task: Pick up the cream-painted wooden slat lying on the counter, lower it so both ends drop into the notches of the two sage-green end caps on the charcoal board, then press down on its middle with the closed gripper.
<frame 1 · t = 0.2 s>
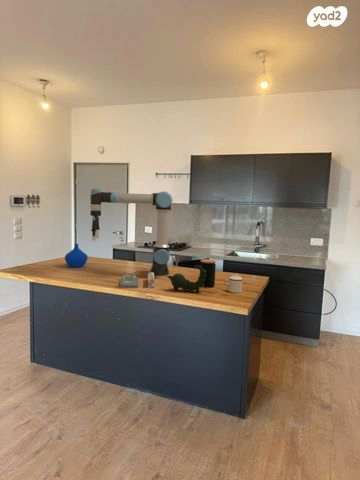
hand: (95, 239, 243), 28 cm above the countertop, tool pointing down, fingers open, 13 cm apart
base board: (129, 283, 229), on the countertop
coffee jar: (206, 286, 232), on the countertop
slat: (150, 284, 231), on the countertop
toy figurine: (185, 291, 216), on the countertop
front end cap: (128, 286, 221), resting on base board
back end cap: (129, 280, 238), resting on base board
teacup with lid: (232, 291, 221), on the countertop
vase: (76, 266, 280), on the countertop
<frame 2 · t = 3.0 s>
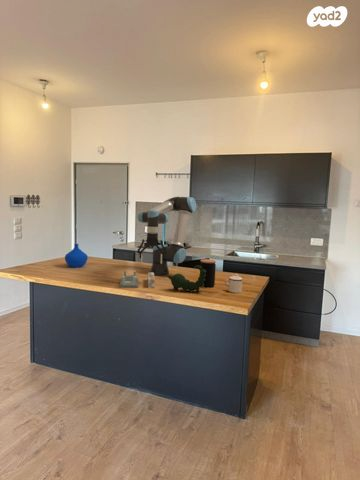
hand: (151, 263, 229), 15 cm above the countertop, tool pointing down, fingers open, 13 cm apart
nothing on the countertop moved.
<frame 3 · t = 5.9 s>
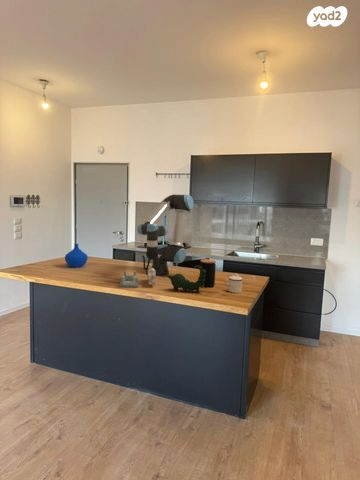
hand: (151, 279, 231), 3 cm above the countertop, tool pointing down, fingers closed on slat, 4 cm apart
slat: (151, 280, 231), point 3 cm above the countertop, touching gripper
everything else where it was.
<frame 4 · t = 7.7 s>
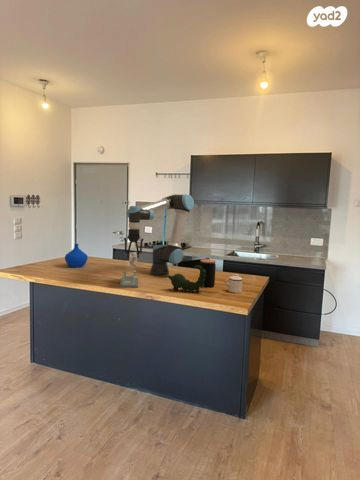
hand: (132, 262, 228), 15 cm above the countertop, tool pointing down, fingers closed on slat, 4 cm apart
slat: (132, 263, 228), point 14 cm above the countertop, touching gripper
everything else where it was.
when the fingers open (3 cm above the countertop, at t = 9.8 s): slat stays where it is, resting on back end cap, front end cap.
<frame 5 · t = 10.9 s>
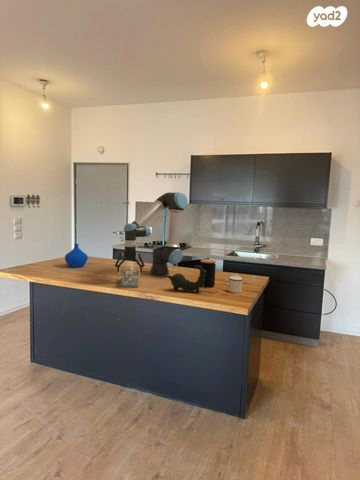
hand: (129, 276, 229), 5 cm above the countertop, tool pointing down, fingers open, 13 cm apart
slat: (129, 278, 229), point 3 cm above the countertop, touching back end cap, front end cap
everything else where it was.
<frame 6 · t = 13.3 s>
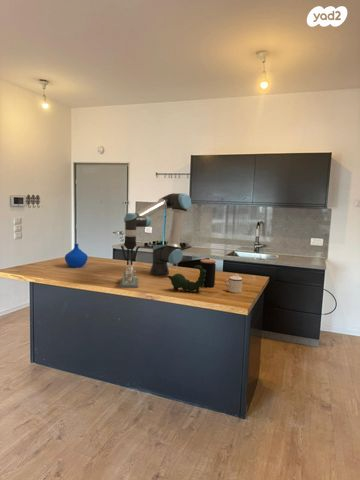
hand: (129, 269, 228), 10 cm above the countertop, tool pointing down, fingers closed
slat: (129, 278, 229), point 3 cm above the countertop, touching back end cap, front end cap, gripper
everything else where it was.
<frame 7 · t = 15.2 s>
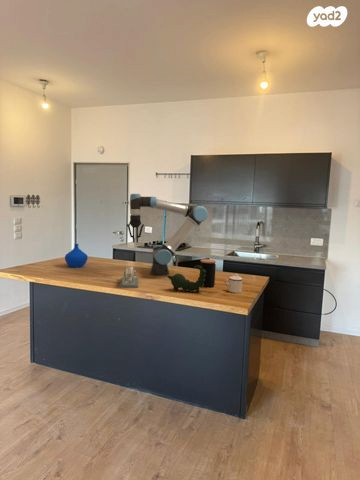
hand: (135, 246, 246), 23 cm above the countertop, tool pointing down, fingers closed
slat: (129, 278, 229), point 3 cm above the countertop, touching back end cap, front end cap
everything else where it was.
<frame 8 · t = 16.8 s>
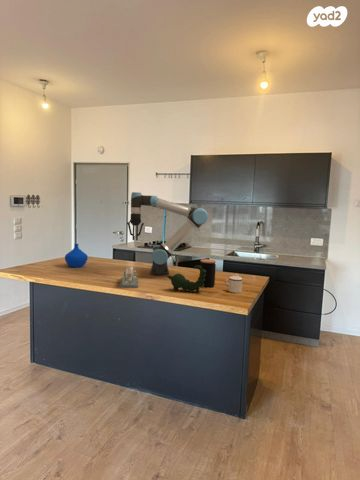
hand: (134, 244, 249), 24 cm above the countertop, tool pointing down, fingers closed
nothing on the countertop moved.
at the end: slat 0.2 cm off-centre on the base board, point 3.5 cm above the base board's base; slat tilted 0°; the gripper is holding nothing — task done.
